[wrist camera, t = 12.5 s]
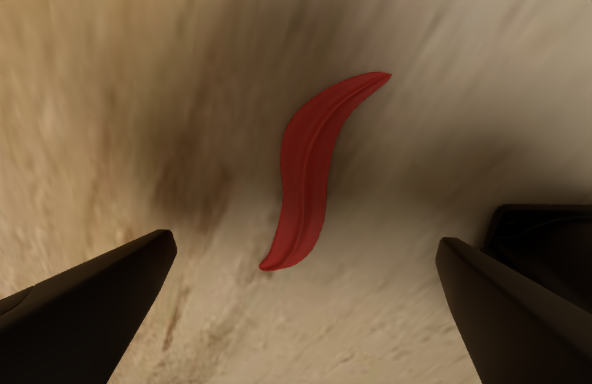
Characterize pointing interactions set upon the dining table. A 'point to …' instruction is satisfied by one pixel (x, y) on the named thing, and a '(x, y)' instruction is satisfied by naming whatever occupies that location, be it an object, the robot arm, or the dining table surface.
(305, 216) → the cayenne pepper
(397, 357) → the dining table surface
